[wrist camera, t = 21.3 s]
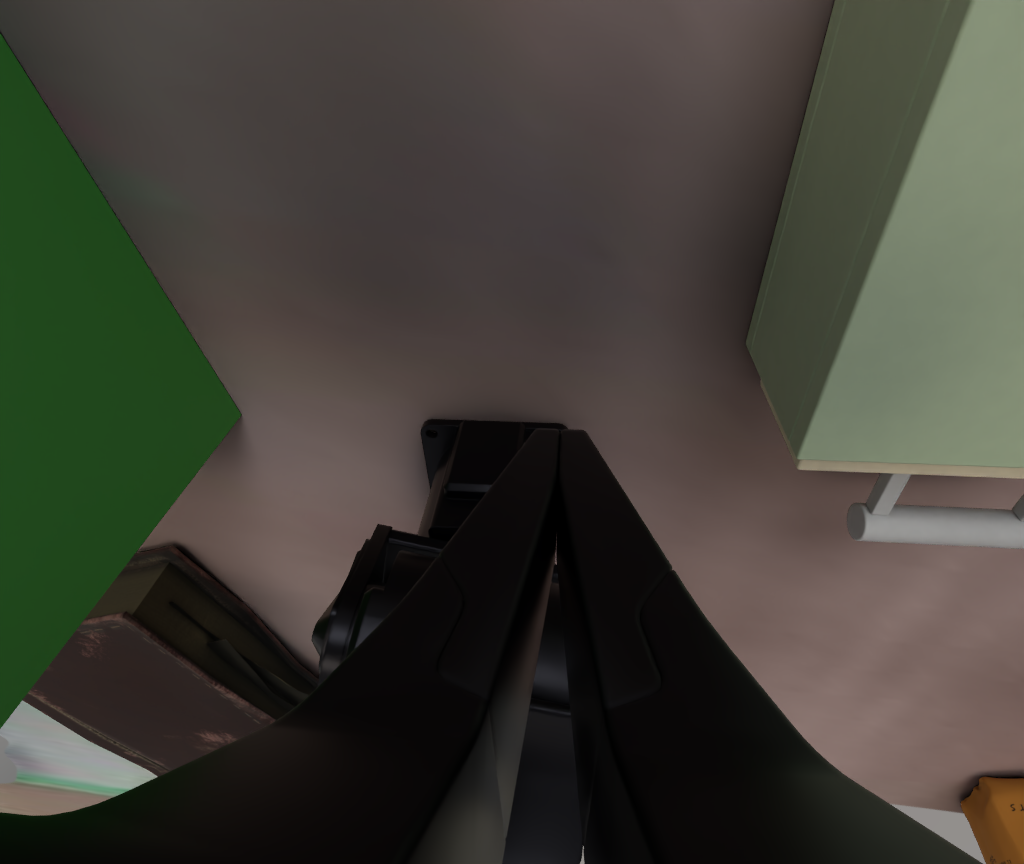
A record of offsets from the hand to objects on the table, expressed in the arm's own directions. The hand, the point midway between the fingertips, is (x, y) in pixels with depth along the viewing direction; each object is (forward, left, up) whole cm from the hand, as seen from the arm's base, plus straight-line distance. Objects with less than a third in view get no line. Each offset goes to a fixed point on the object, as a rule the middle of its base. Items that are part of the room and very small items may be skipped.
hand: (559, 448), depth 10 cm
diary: (-33, +26, -12) cm, 44 cm away
